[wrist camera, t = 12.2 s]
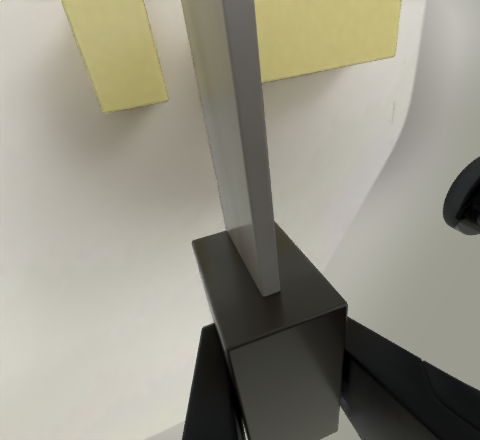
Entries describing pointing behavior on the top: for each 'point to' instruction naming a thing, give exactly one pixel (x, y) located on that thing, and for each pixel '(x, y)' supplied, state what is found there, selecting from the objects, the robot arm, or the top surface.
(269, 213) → the knife
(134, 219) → the top surface
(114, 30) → the butter pat
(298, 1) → the butter stick
